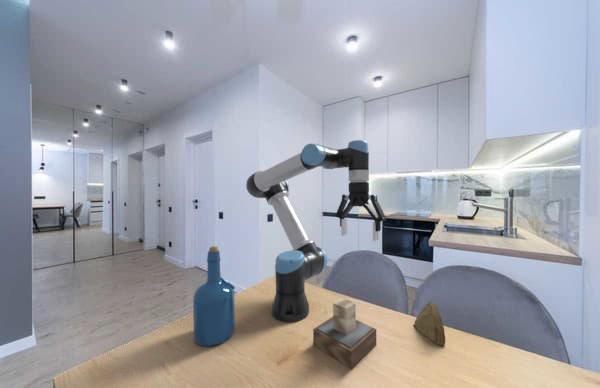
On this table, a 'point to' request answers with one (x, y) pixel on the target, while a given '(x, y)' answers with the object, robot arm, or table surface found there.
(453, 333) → the table surface
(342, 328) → the beech block
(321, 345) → the walnut plinth
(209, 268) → the wine bottle
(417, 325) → the rock
